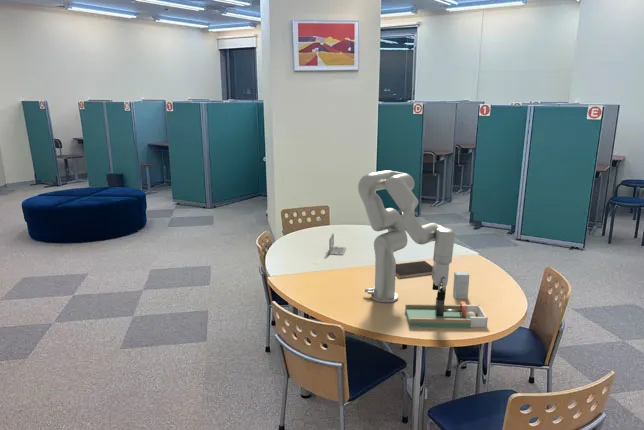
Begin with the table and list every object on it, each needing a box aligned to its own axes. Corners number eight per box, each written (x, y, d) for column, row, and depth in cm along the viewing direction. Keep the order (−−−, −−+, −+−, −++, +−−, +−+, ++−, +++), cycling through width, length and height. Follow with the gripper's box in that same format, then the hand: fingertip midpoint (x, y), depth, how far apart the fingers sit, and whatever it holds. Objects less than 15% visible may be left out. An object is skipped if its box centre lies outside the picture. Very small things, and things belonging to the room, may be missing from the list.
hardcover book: (438, 274, 249) (438, 270, 248) (399, 279, 243) (399, 275, 242) (423, 264, 264) (424, 260, 263) (386, 268, 258) (386, 264, 257)
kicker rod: (436, 316, 196) (437, 301, 195) (434, 311, 201) (435, 296, 199) (466, 317, 196) (467, 301, 194) (463, 312, 200) (465, 297, 198)
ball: (477, 320, 196) (469, 322, 197) (475, 316, 200) (467, 318, 200) (475, 312, 196) (466, 315, 196) (472, 309, 199) (464, 311, 200)
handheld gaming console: (343, 255, 277) (343, 239, 274) (328, 254, 279) (328, 238, 276) (346, 248, 289) (346, 233, 287) (331, 247, 291) (331, 232, 288)
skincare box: (464, 294, 223) (466, 271, 220) (467, 298, 219) (469, 274, 216) (452, 294, 223) (454, 271, 219) (455, 298, 218) (456, 275, 215)
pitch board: (409, 326, 193) (409, 318, 192) (405, 311, 206) (405, 303, 205) (470, 327, 192) (471, 319, 191) (462, 312, 205) (462, 304, 204)
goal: (469, 326, 193) (470, 317, 192) (462, 313, 204) (463, 304, 203) (486, 326, 192) (487, 318, 191) (478, 313, 204) (479, 305, 203)
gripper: (429, 249, 200) (426, 285, 205) (437, 265, 184) (433, 304, 189) (447, 250, 200) (443, 286, 205) (456, 266, 184) (451, 305, 189)
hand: (438, 294), depth 197 cm, fingers open, 9 cm apart
